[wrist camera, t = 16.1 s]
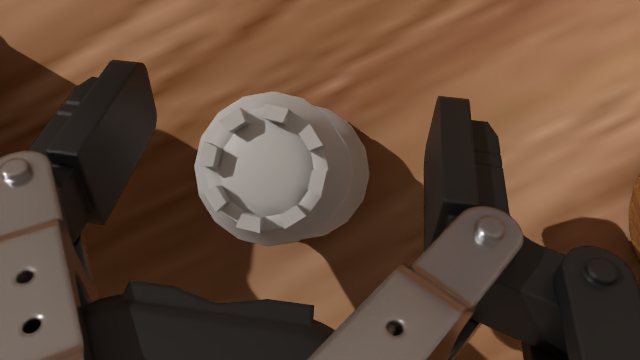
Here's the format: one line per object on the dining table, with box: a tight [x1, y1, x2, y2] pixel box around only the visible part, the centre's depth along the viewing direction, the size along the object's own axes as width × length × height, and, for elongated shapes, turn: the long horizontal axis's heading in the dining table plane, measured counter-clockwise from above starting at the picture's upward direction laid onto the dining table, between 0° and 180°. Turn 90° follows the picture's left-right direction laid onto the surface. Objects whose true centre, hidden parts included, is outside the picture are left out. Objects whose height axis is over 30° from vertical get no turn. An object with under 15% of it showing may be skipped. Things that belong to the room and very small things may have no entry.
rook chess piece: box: [194, 91, 370, 246], centre depth 15 cm, size 4×4×8 cm
